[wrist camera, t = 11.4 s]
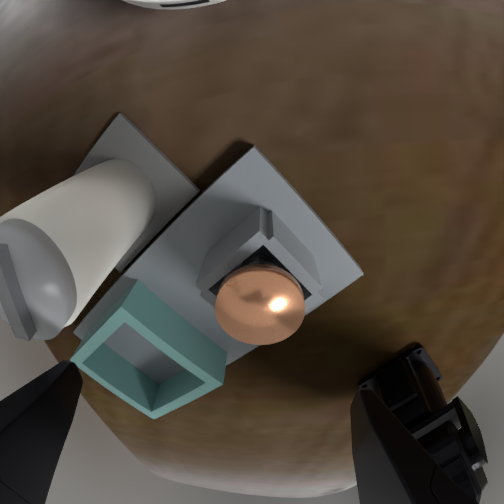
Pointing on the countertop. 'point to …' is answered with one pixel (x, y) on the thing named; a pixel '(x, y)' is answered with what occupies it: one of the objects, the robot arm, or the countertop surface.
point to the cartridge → (69, 245)
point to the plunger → (260, 301)
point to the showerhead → (172, 3)
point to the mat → (156, 169)
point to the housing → (204, 287)
